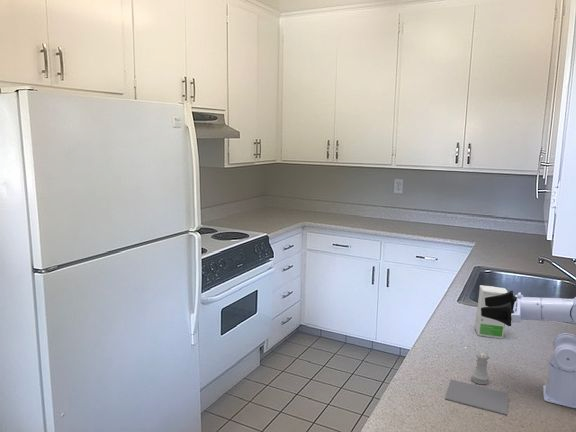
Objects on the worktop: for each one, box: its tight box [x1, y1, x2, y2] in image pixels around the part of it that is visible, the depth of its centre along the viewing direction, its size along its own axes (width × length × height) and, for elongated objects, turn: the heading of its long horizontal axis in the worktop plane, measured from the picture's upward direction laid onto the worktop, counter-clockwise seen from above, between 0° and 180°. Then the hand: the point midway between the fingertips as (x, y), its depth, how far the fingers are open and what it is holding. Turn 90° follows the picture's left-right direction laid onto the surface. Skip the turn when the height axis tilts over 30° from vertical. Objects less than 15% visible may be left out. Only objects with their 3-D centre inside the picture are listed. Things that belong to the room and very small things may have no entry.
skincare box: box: [474, 284, 508, 340], centre depth 155 cm, size 8×7×16 cm
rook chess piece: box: [471, 350, 490, 386], centre depth 125 cm, size 4×4×8 cm
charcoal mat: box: [444, 379, 509, 416], centre depth 118 cm, size 14×10×1 cm
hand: (483, 306), depth 124 cm, fingers open, 7 cm apart
